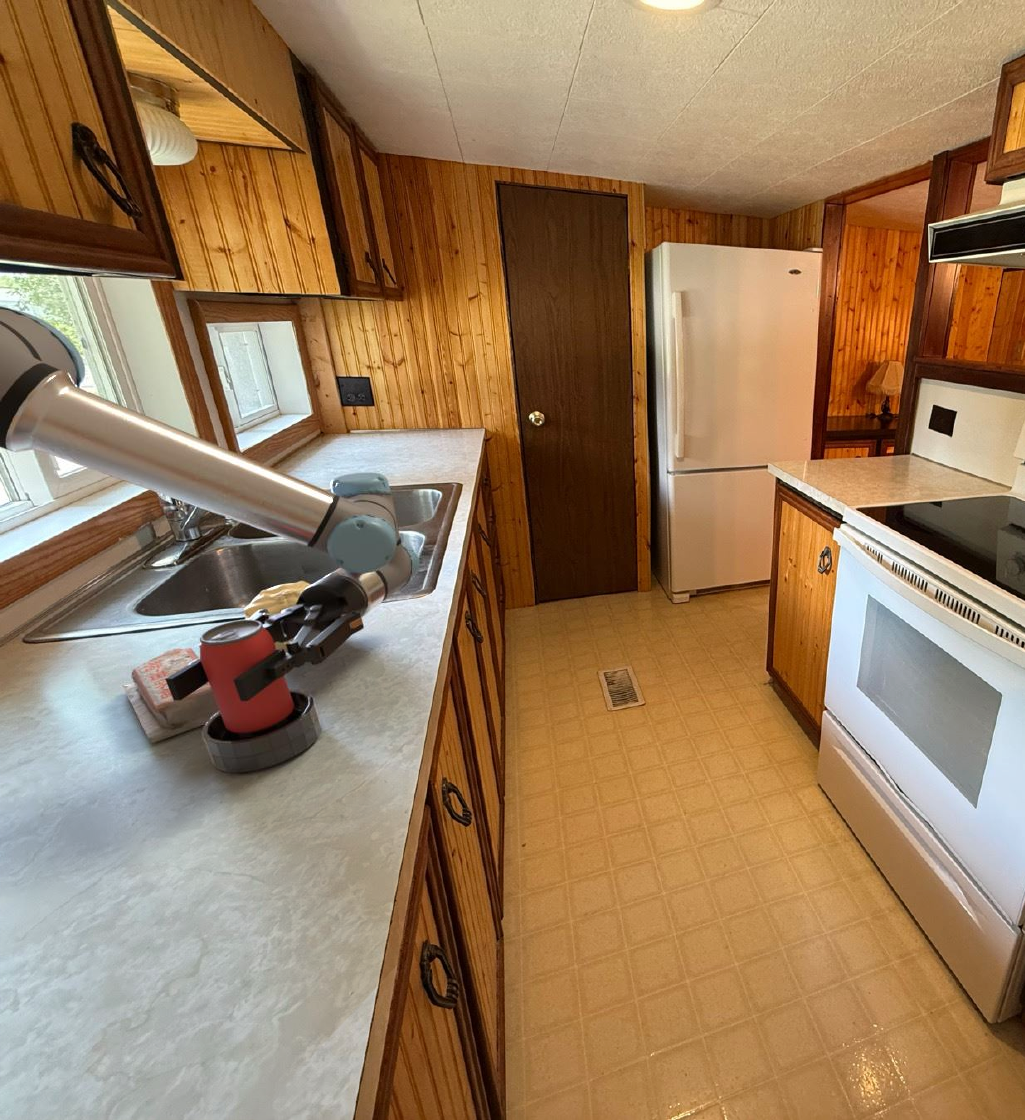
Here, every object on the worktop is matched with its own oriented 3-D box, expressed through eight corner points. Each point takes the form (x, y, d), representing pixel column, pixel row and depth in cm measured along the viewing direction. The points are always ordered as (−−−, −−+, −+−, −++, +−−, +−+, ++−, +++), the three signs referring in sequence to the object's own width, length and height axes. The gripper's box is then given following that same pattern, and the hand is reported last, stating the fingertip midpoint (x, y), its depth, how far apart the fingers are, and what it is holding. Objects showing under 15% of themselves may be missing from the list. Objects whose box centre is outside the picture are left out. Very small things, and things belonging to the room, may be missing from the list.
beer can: (213, 728, 70) (178, 638, 66) (272, 698, 76) (244, 613, 72) (250, 742, 68) (217, 649, 64) (308, 710, 74) (281, 623, 69)
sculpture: (267, 674, 88) (245, 608, 84) (246, 647, 95) (225, 584, 91) (354, 645, 96) (338, 584, 92) (328, 622, 103) (313, 564, 99)
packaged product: (241, 678, 78) (137, 713, 71) (252, 709, 80) (151, 747, 73) (205, 635, 89) (111, 662, 81) (215, 663, 91) (124, 692, 83)
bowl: (189, 775, 68) (176, 743, 67) (260, 718, 78) (250, 689, 77) (282, 776, 68) (271, 744, 67) (341, 719, 78) (332, 690, 77)
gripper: (414, 622, 87) (306, 720, 66) (280, 621, 87) (128, 718, 66) (404, 575, 85) (288, 661, 63) (266, 573, 85) (102, 658, 63)
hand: (207, 690), depth 65 cm, fingers closed on beer can, 7 cm apart
